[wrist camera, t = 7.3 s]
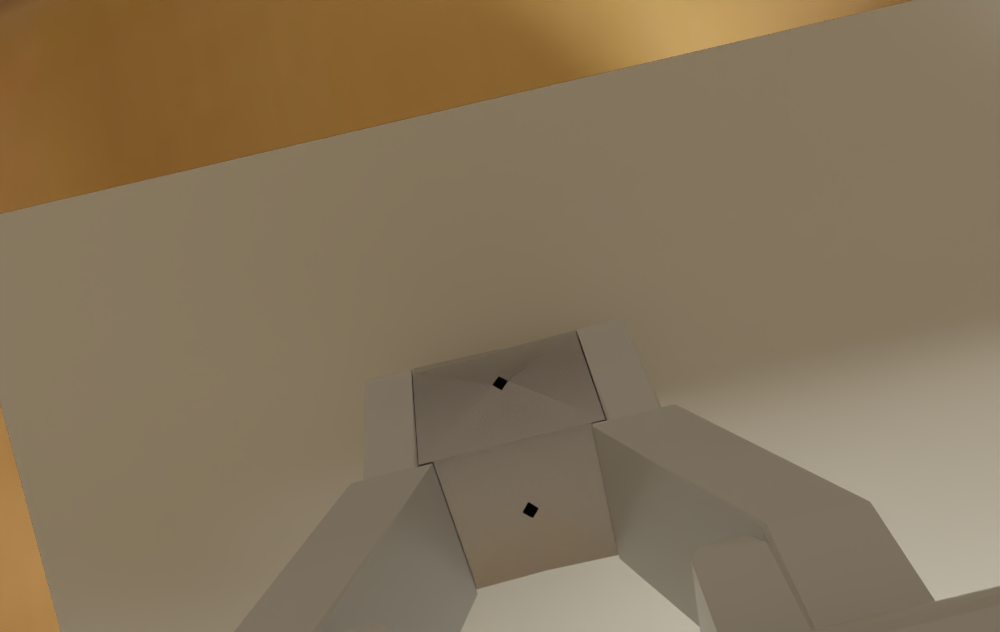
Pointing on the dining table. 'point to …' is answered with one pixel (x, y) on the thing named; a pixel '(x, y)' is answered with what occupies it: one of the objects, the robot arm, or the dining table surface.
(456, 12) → the dining table surface
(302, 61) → the dining table surface
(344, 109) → the dining table surface
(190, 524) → the lid flap
